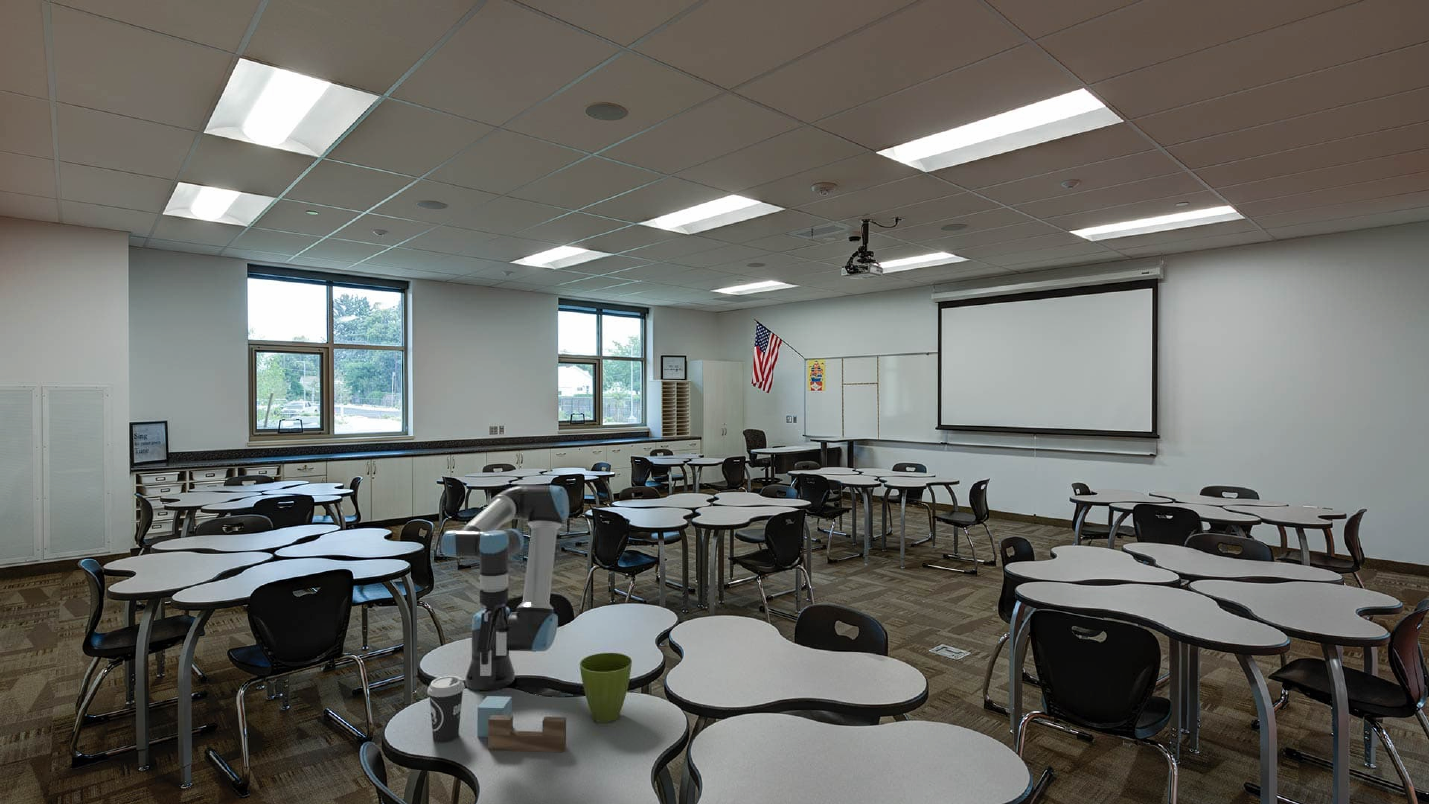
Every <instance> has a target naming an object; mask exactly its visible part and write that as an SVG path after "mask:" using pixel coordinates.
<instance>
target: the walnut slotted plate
mask: <svg viewBox="0 0 1429 804" xmlns="http://www.w3.org/2000/svg"><path fill="white" fill-rule="evenodd" d="M541 723H542V727H541V728H542V729H541V731H540V730H539V731H538V730H537V731H536V730H535V731H532V730H514V716H513V715H511V716H505V715H491V717H490V718H489V719H488V737H487V738H488V740H487V741H488V744H487V750H488V751H491V750H492V751H515V752H516V751H518V752H519V751H520V752H522V751H523V752H550V753H552V752H554V753H564V752H565V750H566V749H567V717H566V716H544V718H543V720H542V722H541Z"/></svg>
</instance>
